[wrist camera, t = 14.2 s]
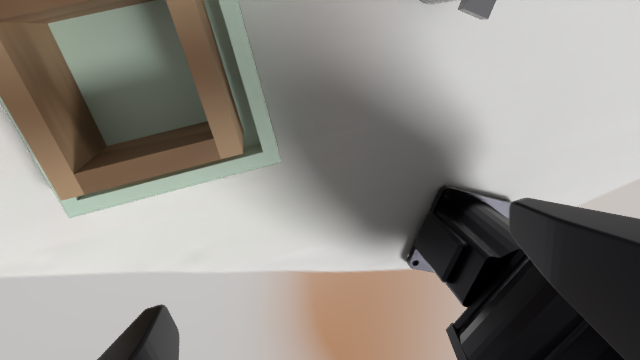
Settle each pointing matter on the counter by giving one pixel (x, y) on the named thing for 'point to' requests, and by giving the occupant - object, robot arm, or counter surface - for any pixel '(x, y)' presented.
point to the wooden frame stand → (75, 117)
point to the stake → (471, 7)
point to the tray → (158, 91)
